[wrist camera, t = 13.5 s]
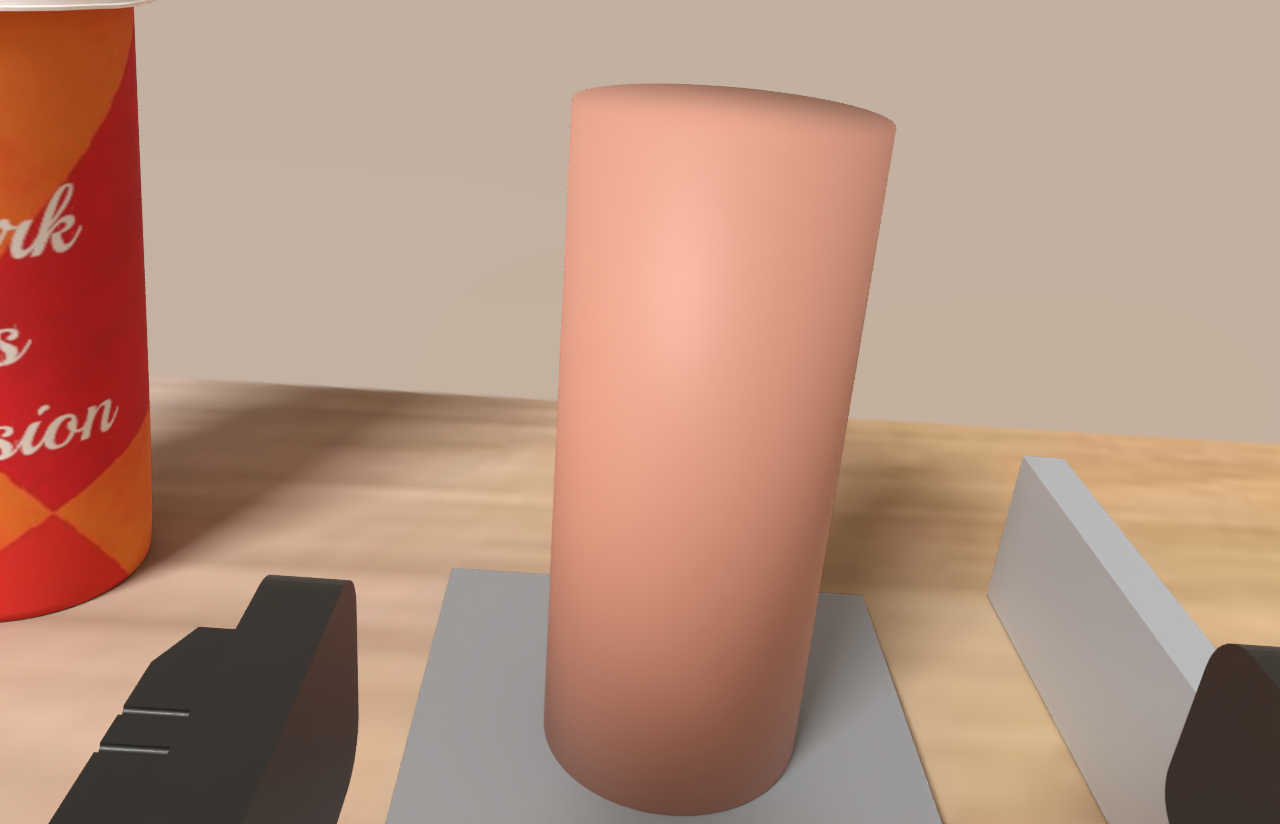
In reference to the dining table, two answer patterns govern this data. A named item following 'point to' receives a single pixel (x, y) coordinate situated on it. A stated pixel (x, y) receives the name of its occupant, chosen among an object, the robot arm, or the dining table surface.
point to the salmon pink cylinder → (700, 428)
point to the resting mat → (581, 820)
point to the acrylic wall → (1097, 638)
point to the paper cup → (71, 306)
